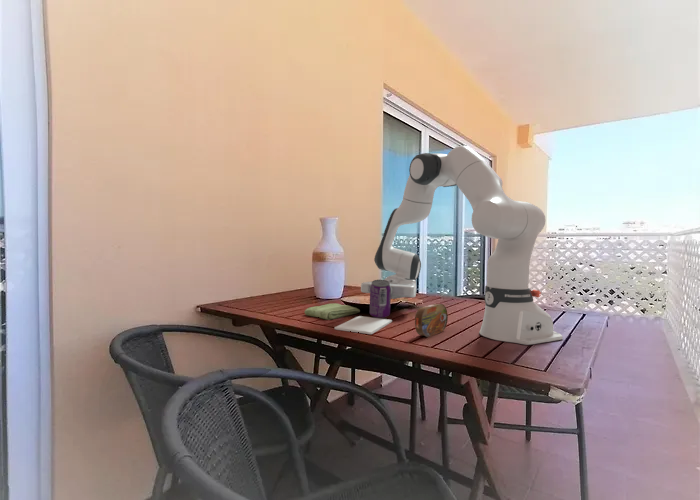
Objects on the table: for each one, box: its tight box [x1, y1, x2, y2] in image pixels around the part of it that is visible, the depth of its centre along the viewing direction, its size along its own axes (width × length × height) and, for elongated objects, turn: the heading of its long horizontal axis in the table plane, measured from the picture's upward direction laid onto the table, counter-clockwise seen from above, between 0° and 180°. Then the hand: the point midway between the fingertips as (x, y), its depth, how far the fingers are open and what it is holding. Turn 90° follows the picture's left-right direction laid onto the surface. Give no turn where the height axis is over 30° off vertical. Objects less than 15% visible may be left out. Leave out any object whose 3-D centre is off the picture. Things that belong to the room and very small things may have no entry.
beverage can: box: [369, 279, 392, 319], centre depth 128 cm, size 7×7×12 cm
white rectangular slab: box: [334, 315, 393, 335], centre depth 118 cm, size 18×12×1 cm, turn 155°
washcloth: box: [304, 302, 361, 321], centre depth 135 cm, size 13×18×3 cm
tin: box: [414, 303, 449, 338], centre depth 110 cm, size 15×3×8 cm, turn 137°
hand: (380, 291), depth 130 cm, fingers closed
